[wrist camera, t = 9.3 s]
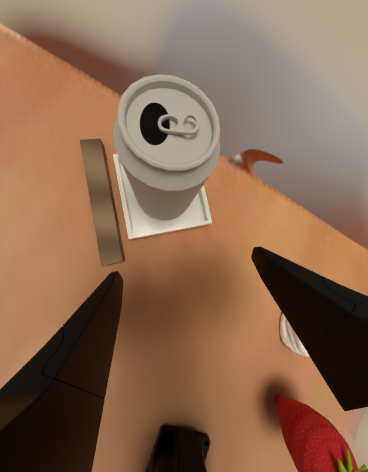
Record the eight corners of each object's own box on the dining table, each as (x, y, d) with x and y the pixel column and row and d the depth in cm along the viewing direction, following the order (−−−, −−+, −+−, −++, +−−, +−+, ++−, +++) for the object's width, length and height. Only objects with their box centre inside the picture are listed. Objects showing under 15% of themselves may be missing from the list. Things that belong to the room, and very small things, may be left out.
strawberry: (277, 439, 20) (391, 620, 10) (248, 393, 20) (336, 530, 10) (305, 407, 21) (432, 542, 11) (279, 363, 21) (383, 460, 11)
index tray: (208, 225, 21) (212, 223, 20) (131, 239, 19) (128, 239, 18) (192, 155, 22) (195, 147, 21) (116, 161, 20) (112, 154, 18)
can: (138, 165, 20) (110, 44, 8) (191, 173, 21) (232, 77, 10) (133, 218, 19) (94, 167, 7) (189, 223, 20) (230, 186, 9)
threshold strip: (124, 260, 19) (122, 261, 18) (105, 264, 18) (101, 265, 17) (103, 145, 20) (100, 138, 19) (84, 146, 19) (79, 139, 18)
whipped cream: (276, 290, 24) (304, 296, 19) (315, 296, 24) (351, 304, 19) (274, 345, 22) (304, 368, 17) (316, 351, 22) (356, 375, 18)
